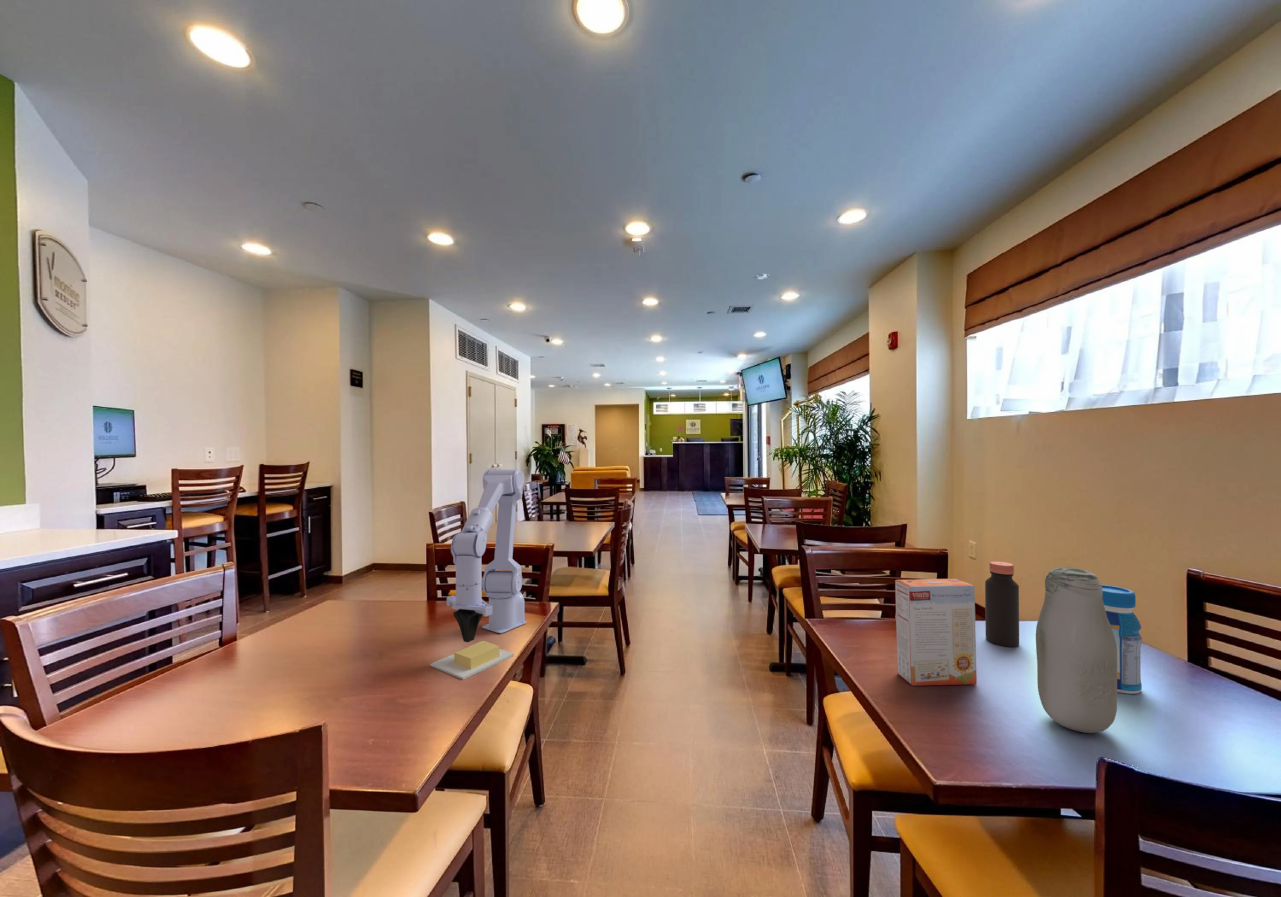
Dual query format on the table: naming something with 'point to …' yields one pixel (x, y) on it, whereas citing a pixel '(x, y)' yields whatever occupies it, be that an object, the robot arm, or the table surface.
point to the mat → (463, 672)
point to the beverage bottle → (1124, 636)
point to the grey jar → (1076, 652)
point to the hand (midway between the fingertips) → (468, 640)
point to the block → (476, 654)
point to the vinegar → (1002, 605)
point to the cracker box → (936, 631)
